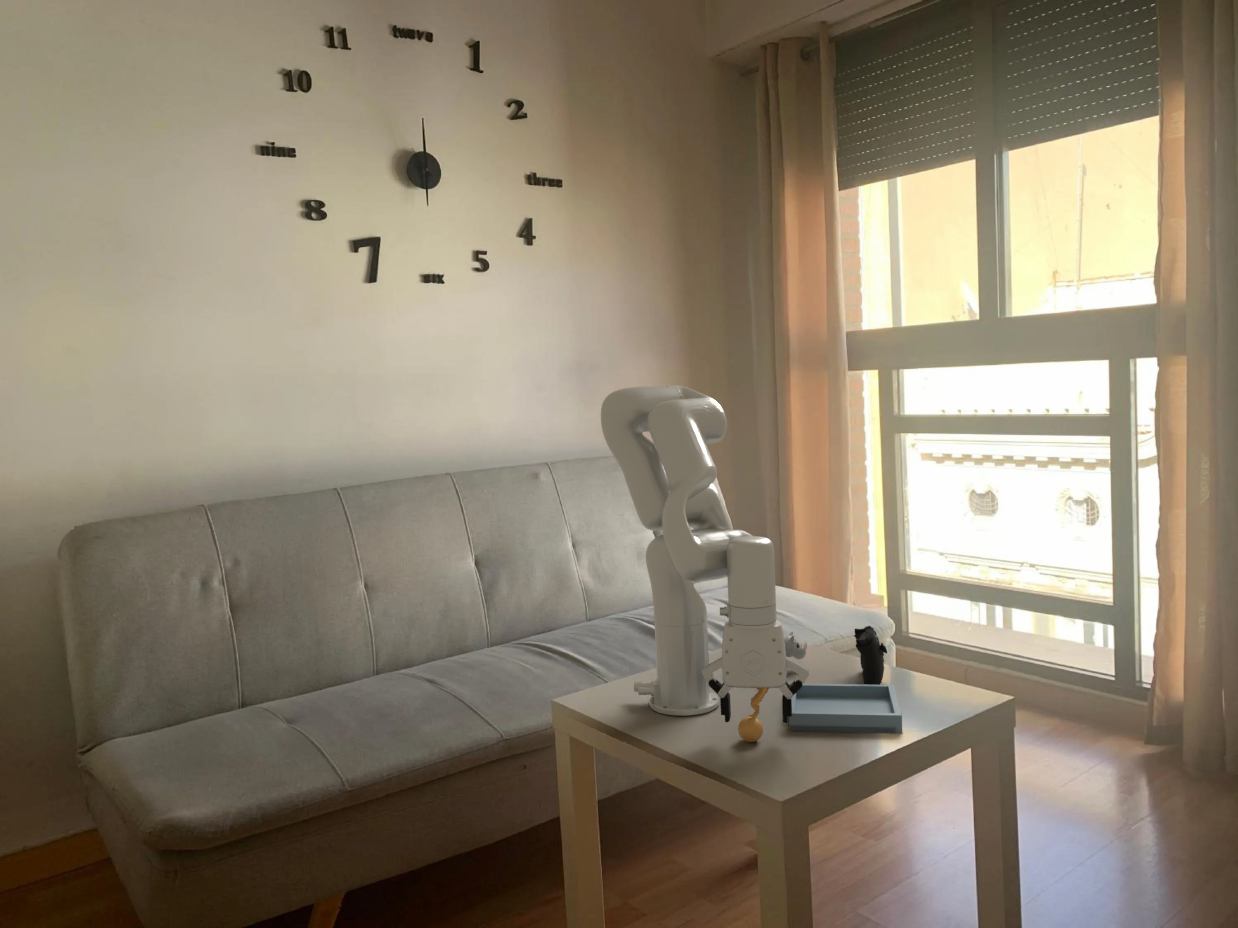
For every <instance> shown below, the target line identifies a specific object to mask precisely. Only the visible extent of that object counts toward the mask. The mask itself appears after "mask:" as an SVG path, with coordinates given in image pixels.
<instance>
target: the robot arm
mask: <svg viewBox="0 0 1238 928" xmlns="http://www.w3.org/2000/svg"><path fill="white" fill-rule="evenodd" d="M600 422H601V423H600V424H601V429H602V434H603V439H604V440H605V442H606V445H607V447H608V449H609V450H610V452H611V453H612V455H613V457H614V458H615V460H616V463H617V464H618V465H619V467H620V469H621V472H622V474H623V477H624V479H625V482H626V485H627V488H628V491H629V494H630V498H631V500H632V503H633V505H634V508H635V510H636V514H637V516H638V518H639V520H640V523H641V524H642V525H643V527H644V528H645V529H646V530H650V531H653V532H654V531H655V532H662V534H660V535H658V536H657V537H654V538H653V539H652V540H651V541H650V543H649V544H648V545H647V548H646V551H645V565H646V567H647V568H646V569H647V574H648V577H649V581H650V586H651V594H652V595H651V596H652V604H653V618H654V619H653V620H654V640H655V644H654V645H655V661H656V662H655V663H656V665H655V666H656V679H651V681H644V680H643V681H641V680H640V681H639V680H636V681H634V682H633V691H634V693H638V695H639V696H646V695H649V696H650V698H649V707H650V708H651V710H653V711H655V712H657V713H659V714H663V715H668V716H677V717H678V716H680V717H681V716H683V717H685V716H687V717H688V716H696V715H702V714H706V713H709V712H712V711H714V710H715V709H717V708H718V707H719V706H720V715H721V716H724V722H725V723H729V722H731V721H730V720H731V717H732V716H731V715H732V711H731V710H732V709H731V694H730V692H729V691H730V690H731V689H732V688H740V689H742V688H743V689H745V688H746V689H757V688H764V687H767V688H769V689H779V691H780V692H781V693H782V696H781V705H782V706H781V707H782V723H783V724H789V717H792V699H791V698H792V697H793V695H794V694H795V693H796V692H797V691H798V690H799V689H801V687H802V685H803V684H805V682H806V681H807V678H808V677H809V675H810V670H809V669H808V668H807V667H806V666H803V665H802V664H800V663H799V662H796V661H795V660H794V659H792V658H790V657H786V650H785V641H784V637H785V636H784V630H783V626H782V623H781V621H779V620H778V619H777V595H776V589H777V588H776V570H775V569H776V568H775V567H776V565H775V564H776V563H775V547H774V544H773V542H772V540H771V539H769V538H767V537H765V536H758V535H757V536H756V535H752V534H751V533H749V532H747V531H744V530H742V529H734V528H733V526H732V523H731V520H730V518H729V515H728V513H727V510H726V507H725V505H724V502H723V499H722V497H721V494H720V492H719V490H718V489H717V487H716V486H715V484H714V482H715V481H716V478H717V477H718V469H717V466H716V465H715V462H714V459H713V456H712V455H711V453H710V450H709V448H708V445H713V444H717V443H720V442H721V441H722V440H723V439H724V438H725V436H726V434H727V429H728V420H727V416H726V413H725V411H724V409H723V407H722V406H721V404H720V403H718V401H717V400H715V399H714V398H713V397H711V396H708V395H706V394H704V393H702V392H699V391H697V390H695V389H691V388H689V387H687V386H683V385H678V384H677V385H653V386H633V387H625V388H620V389H617V390H614V391H613V392H611V393H609V394H608V395H607V396H606V397H604V400H603V401H602V404H601V409H600ZM646 432H647V433H648V432H649V434H650V436H651V439H652V441H651V440H650V439H649V438H648V437H647V436H645V435H644V433H646ZM691 528H692V529H691ZM725 578H727V597H728V598H727V599H728V600H727V601H728V604H726V606H724V607H721V606H720V607H719V616H723V617H726V618H727V619H728V620H727V621H725V623H724V624H723V632H722V640H721V641H722V643H721V647H722V648H721V657H720V658H718V659H716V660H714V661H713V662H711V663H710V659H709V655H710V654H709V633H708V610H707V606H706V604H705V601H704V599H703V598H702V596H701V595H700V594H699V592H698V591H697V590H696V588H695V584H699V583H701V582H708V581H713V580H714V581H715V580H719V579H725ZM720 669H721V675H722V676H721V677H722V683H721V682H720V681H719V680H718V679H717V677H715V676H714V673H715V672H716V671H718V670H720ZM788 670H790V671H791V672H794V673H796V674H797V676H796V679H795V680H793V682H791V683H789V682H788V681H787V678H788ZM711 690H713V691H714V692H713V691H711Z"/></svg>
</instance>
